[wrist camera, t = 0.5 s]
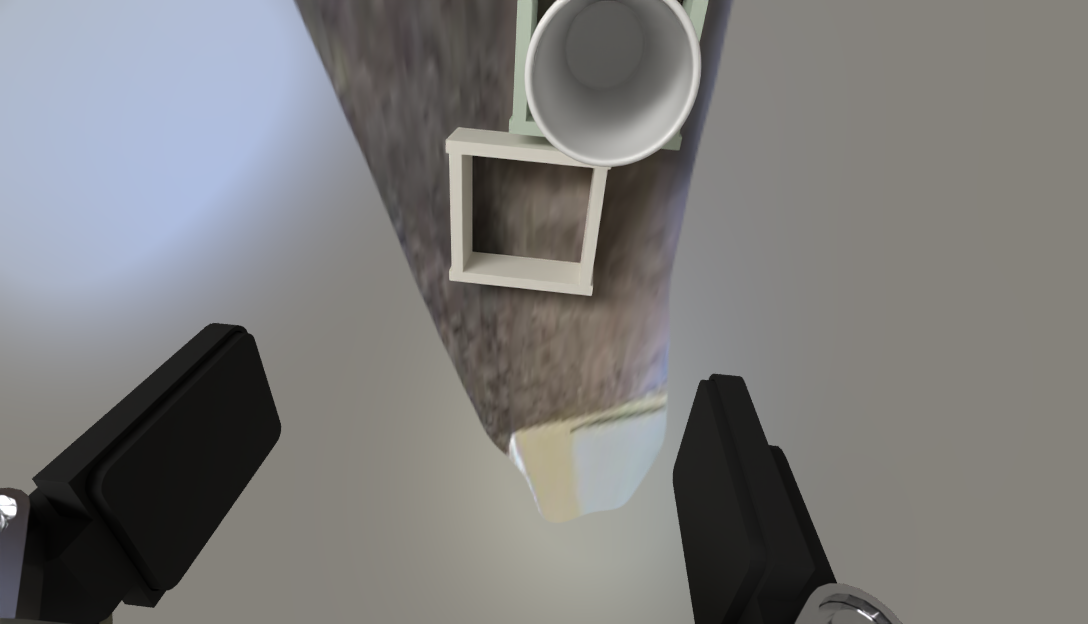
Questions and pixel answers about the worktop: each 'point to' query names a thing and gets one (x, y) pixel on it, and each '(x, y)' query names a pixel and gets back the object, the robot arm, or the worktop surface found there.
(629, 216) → the worktop surface
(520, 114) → the sage frame
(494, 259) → the cream frame
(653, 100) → the white cup
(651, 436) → the worktop surface
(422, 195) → the worktop surface
